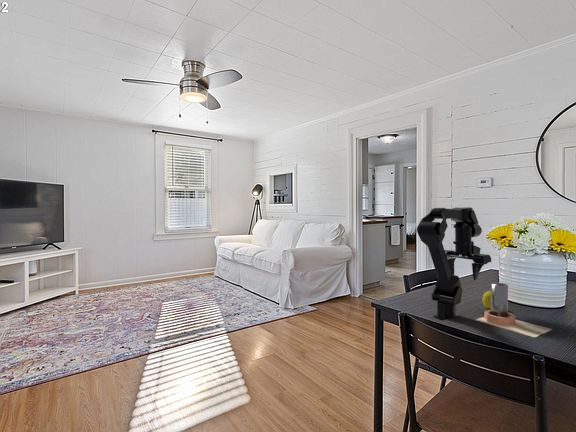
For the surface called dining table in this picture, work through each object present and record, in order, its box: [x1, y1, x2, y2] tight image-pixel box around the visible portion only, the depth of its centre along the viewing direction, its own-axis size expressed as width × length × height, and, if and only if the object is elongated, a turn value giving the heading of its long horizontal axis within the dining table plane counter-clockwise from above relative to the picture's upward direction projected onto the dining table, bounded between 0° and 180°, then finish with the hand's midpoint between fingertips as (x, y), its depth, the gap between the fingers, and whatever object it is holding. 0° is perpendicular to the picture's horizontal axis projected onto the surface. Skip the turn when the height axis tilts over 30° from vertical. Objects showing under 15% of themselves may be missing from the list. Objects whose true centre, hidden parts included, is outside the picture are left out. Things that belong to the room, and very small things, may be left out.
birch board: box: [475, 316, 553, 338], centre depth 110 cm, size 12×18×1 cm, turn 29°
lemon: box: [481, 289, 491, 310], centre depth 128 cm, size 6×6×8 cm
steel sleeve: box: [490, 282, 509, 317], centre depth 113 cm, size 5×5×13 cm
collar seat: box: [483, 309, 516, 326], centre depth 114 cm, size 9×9×2 cm
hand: (463, 277), depth 129 cm, fingers open, 9 cm apart
